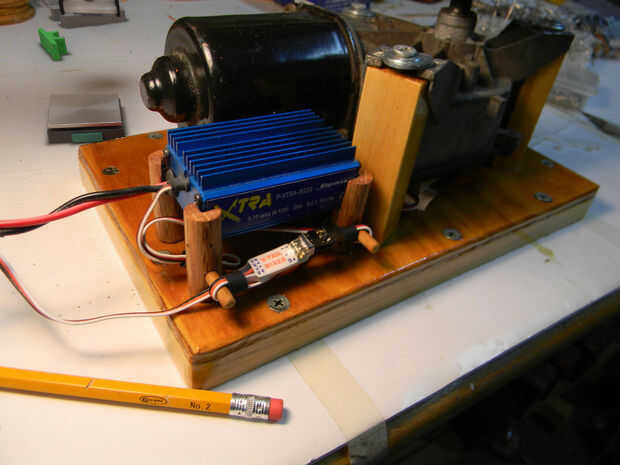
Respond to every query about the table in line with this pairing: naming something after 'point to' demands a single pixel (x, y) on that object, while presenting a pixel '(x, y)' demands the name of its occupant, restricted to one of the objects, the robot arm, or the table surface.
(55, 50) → the pipe clamp
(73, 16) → the bracket
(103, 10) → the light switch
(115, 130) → the kitchen scale
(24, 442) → the table surface
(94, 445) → the table surface
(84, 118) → the scale pan
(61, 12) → the robot arm
